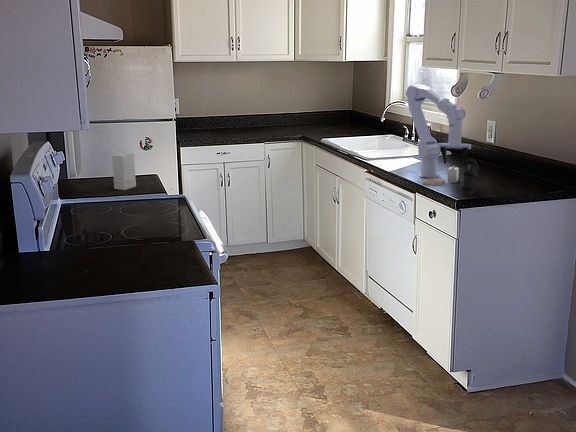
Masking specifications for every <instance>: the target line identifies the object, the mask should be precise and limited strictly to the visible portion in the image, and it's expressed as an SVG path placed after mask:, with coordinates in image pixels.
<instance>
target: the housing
mask: <svg viewBox="0 0 576 432" xmlns="http://www.w3.org/2000/svg"><path fill="white" fill-rule="evenodd" d="M459 168H460V167H457V166H455V165H453V166H449V168H448V169H447V181H446V183H454V184H455V183H457V182H458V181H459V171H460V170H459Z"/></svg>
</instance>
